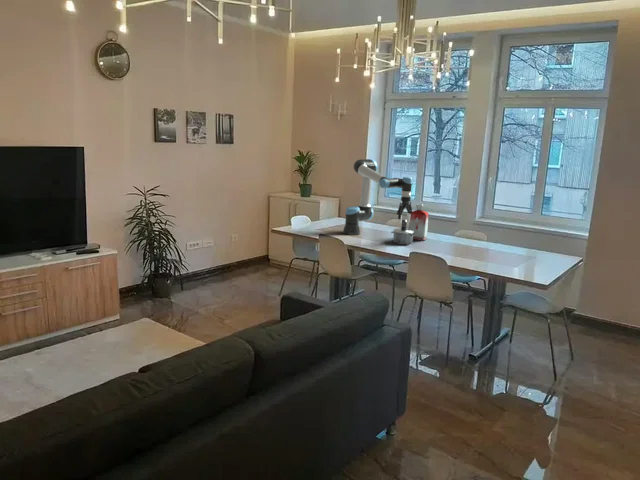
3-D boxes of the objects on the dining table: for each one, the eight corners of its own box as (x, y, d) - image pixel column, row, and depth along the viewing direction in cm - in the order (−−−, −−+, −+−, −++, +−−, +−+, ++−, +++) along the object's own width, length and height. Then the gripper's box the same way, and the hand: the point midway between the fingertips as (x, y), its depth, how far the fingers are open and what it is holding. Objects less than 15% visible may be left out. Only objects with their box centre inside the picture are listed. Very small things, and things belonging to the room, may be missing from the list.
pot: (387, 241, 421) (387, 231, 419) (397, 239, 433) (397, 228, 431) (408, 245, 408) (409, 234, 406) (418, 243, 420) (419, 232, 418)
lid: (389, 231, 418) (390, 219, 416) (400, 229, 430) (401, 217, 428) (407, 234, 407) (407, 222, 405) (417, 232, 420) (418, 220, 418)
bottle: (407, 239, 435) (409, 204, 429) (410, 237, 444) (413, 202, 438) (423, 241, 429) (426, 205, 423) (427, 239, 438) (430, 204, 432)
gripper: (402, 198, 401) (399, 224, 406) (417, 195, 420) (415, 221, 424) (393, 196, 406) (391, 223, 410) (409, 194, 424) (407, 219, 429)
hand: (403, 222), depth 417 cm, fingers open, 13 cm apart
